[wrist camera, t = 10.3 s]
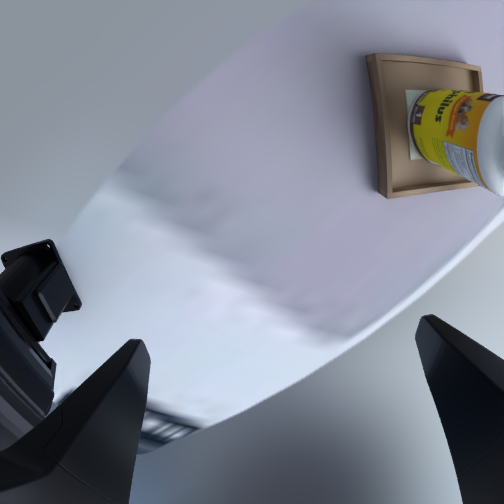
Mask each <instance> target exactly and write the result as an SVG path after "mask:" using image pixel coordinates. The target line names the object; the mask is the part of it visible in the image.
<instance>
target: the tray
mask: <svg viewBox="0 0 504 504" xmlns="http://www.w3.org/2000/svg"><path fill="white" fill-rule="evenodd" d="M366 59H367V65H368V72H369V78H370V86H371V93H372V102H373V111H374V121H375V132H376V145H377V161H378V186H379V193H380V194H381V195H382V196H384V197H385V198H387V199H391V198H398V197H404V196H411V195H418V194H425V193H432V192H439V191H446V190H454V189H461V188H469V187H477V186H479V185H478V184H476V183H474V182H471V181H469V180H467V179H465V178H463V177H461V176H459V175H457V174H455V173H453V172H450V171H448V170H446V169H443V168H441V167H439V166H437V165H434V164H432V163H430V162H428V161H426V160H425V159H423V158H422V157H421V156H420V155H419V154H418V153H417V151H416V150H415V148H414V147H413V145H412V143H411V140H410V137H409V133H408V115H409V111H410V108H411V106H412V104H413V102H414V100H415V99H416V98H417V97H418V96H419V95H420V94H421V93H423V92H424V91H427V90H430V89H451V90H463V91H473V92H481V93H483V83H482V73H481V67H480V66H476V65H471V64H465V63H460V62H454V61H448V60H441V59H434V58H426V57H417V56H407V55H393V54H372V55H368V56H366Z"/></svg>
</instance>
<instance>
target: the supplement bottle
mask: <svg viewBox="0 0 504 504" xmlns="http://www.w3.org/2000/svg"><path fill="white" fill-rule="evenodd" d="M408 133H409V137H410V140H411V143H412V145H413V147H414V148H415V150H416V151H417V153H418V154H419V155H420V156H421V157H422V158H423V159H425V160H426V161H428V162H430V163H432V164H434V165H437V166H439V167H441V168H443V169H446V170H448V171H450V172H453V173H455V174H457V175H459V176H461V177H463V178H465V179H467V180H469V181H471V182H474V183H476V184H478V185H479V186H481V187H483V188H485V189H487V190H489V191H491V192H493V193H495V194H497V195H499V196H502V197H504V95H496V94H489V93H481V92H473V91H463V90H451V89H430V90H427V91H424V92H423V93H421V94H420V95H419V96H418V97H417V98H416V99H415V100H414V102H413V104H412V106H411V108H410V111H409V115H408Z"/></svg>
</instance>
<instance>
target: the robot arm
mask: <svg viewBox="0 0 504 504" xmlns="http://www.w3.org/2000/svg"><path fill="white" fill-rule="evenodd" d="M47 244H48V245H49V246H50V248H49V247H48V246H47ZM1 260H2V263H3V265H4V267H5V270H4V271H3V272H2V273H1V274H0V504H129V497H130V490H131V484H132V478H133V471H134V465H135V460H136V454H137V449H138V443H139V438H140V433H141V428H142V423H143V418H144V413H145V408H146V402H147V393H148V383H149V373H150V364H151V360H150V356H149V353H148V351H147V349H146V346H145V344H144V342H143V340H141V339H130V340H128V341H127V342H126V343H125V344H124V345H123V346H122V347H121V348H120V349H119V350H118V351H116V352H115V353H114V354H113V355H112V356H111V357H110V358H109V359H108V360H107V361H106V362H105V363H104V364H102V365H101V366H100V367H99V368H98V369H97V370H96V371H95V372H94V373H93V374H92V375H91V376H90V377H89V378H87V379H86V380H85V381H84V382H83V383H82V384H81V385H80V386H79V387H78V388H77V389H76V390H75V391H74V392H73V393H72V394H70V395H69V396H68V397H67V398H66V399H65V400H64V401H63V402H62V403H61V405H59V406H58V407H57V408H56V409H55V410H54V411H53V412H51V413H50V414H49V415H48V416H47V414H48V412H49V411H50V408H51V405H52V401H53V398H54V391H53V389H54V380H55V372H56V365H57V364H56V363H55V361H54V360H53V359H52V358H50V357H49V356H48V355H47V353H46V352H45V351H44V350H43V348H42V347H41V346H40V344H39V342H40V341H44V339H45V337H46V336H47V334H48V332H49V331H50V329H51V327H52V325H53V324H54V323H55V322H56V321H57V320H58V318H59V316H60V315H61V313H62V312H69V311H76V310H79V309H80V308H81V306H82V303H81V301H80V299H79V297H78V295H77V293H76V291H75V288H74V286H73V284H72V282H71V280H70V278H69V276H68V274H67V271H66V269H65V267H64V265H63V263H62V261H61V258H60V256H59V254H58V251H57V249H56V246H55V244H54V242H53V241H52V240H50V239H47V240H43V241H40V242H36V243H33V244H30V245H27V246H23V247H21V248H17V249H14V250H11V251H8V252H5V253H4V254H2V256H1ZM75 303H76V304H77V305H76V304H75ZM415 340H416V344H417V347H418V351H419V354H420V358H421V362H422V365H423V370H424V373H425V377H426V379H427V383H428V385H429V388H430V391H431V393H432V396H433V399H434V402H435V405H436V408H437V411H438V414H439V417H440V419H441V423H442V426H443V429H444V432H445V436H446V439H447V442H448V446H449V449H450V453H451V456H452V459H453V463H454V467H455V471H456V475H457V478H458V479H457V480H458V484H459V488H460V492H461V497H462V502H463V504H504V360H503V359H502V358H500V357H498V356H497V355H496V354H494V353H493V352H491V351H489V350H488V349H487V348H485V347H484V346H482V345H480V344H479V343H477V342H476V341H474V340H473V339H471V338H470V337H468V336H467V335H465V334H463V333H462V332H460V331H459V330H457V329H456V328H454V327H452V326H451V325H449V324H448V323H446V322H445V321H443V320H441V319H440V318H438V317H436V316H435V315H433V314H430V315H424V316H422V317H421V319H420V322H419V325H418V328H417V331H416V335H415ZM46 416H47V417H46ZM45 417H46V418H45Z"/></svg>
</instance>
